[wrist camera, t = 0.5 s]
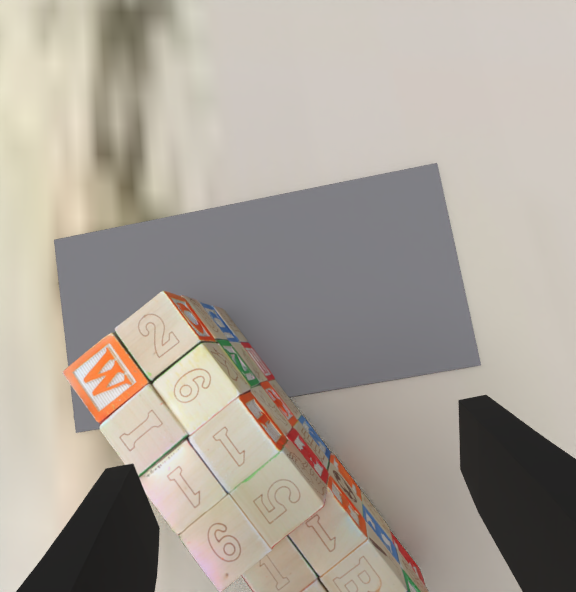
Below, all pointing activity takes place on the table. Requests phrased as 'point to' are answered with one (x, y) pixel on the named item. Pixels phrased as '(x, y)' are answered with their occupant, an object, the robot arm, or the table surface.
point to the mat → (292, 281)
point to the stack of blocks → (233, 457)
